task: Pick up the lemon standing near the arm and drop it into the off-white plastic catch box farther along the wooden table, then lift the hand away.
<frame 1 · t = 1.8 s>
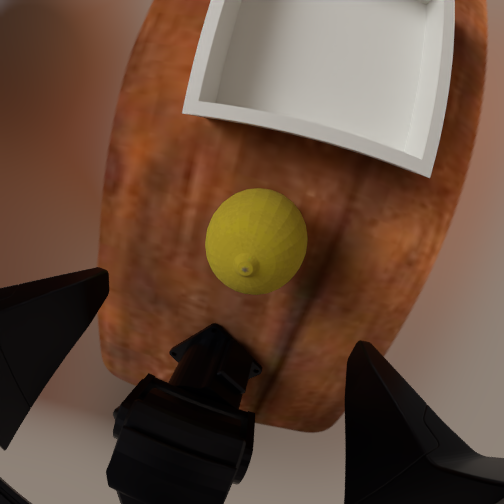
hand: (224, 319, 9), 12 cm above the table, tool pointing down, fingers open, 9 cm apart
lemon: (266, 219, 20), on the table
catch box: (329, 43, 15), on the table
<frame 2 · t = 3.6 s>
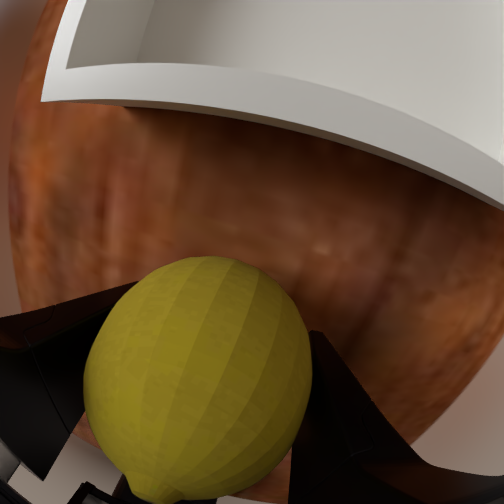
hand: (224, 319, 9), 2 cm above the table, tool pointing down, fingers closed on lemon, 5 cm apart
lemon: (236, 291, 11), on the table, touching gripper
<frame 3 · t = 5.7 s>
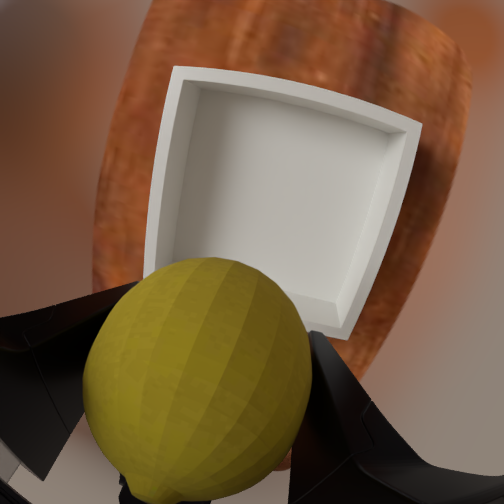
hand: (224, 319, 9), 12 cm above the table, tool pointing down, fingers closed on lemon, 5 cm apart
lemon: (236, 292, 11), point 10 cm above the table, touching gripper
catch box: (274, 196, 19), on the table
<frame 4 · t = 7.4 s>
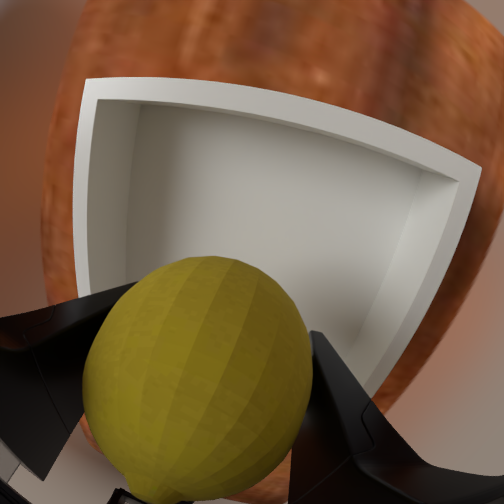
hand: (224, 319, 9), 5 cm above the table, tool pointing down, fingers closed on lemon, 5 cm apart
lemon: (236, 291, 11), point 3 cm above the table, touching gripper
catch box: (250, 257, 14), on the table
when the fingers open (5 cm above the table, at t = 7.8 s): lemon drops 2 cm, resting on catch box.
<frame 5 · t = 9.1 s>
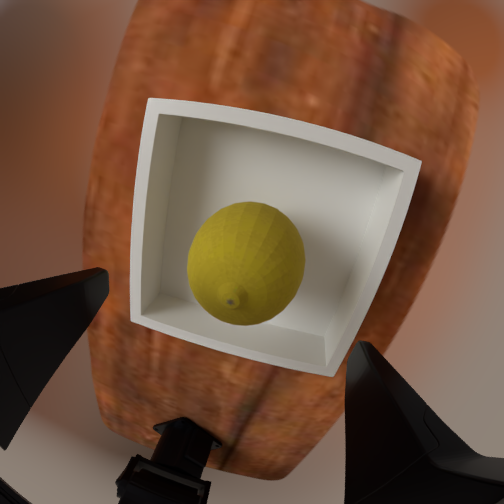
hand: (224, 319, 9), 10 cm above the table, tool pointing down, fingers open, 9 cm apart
lemon: (259, 234, 18), point 1 cm above the table, touching catch box
catch box: (261, 231, 19), on the table
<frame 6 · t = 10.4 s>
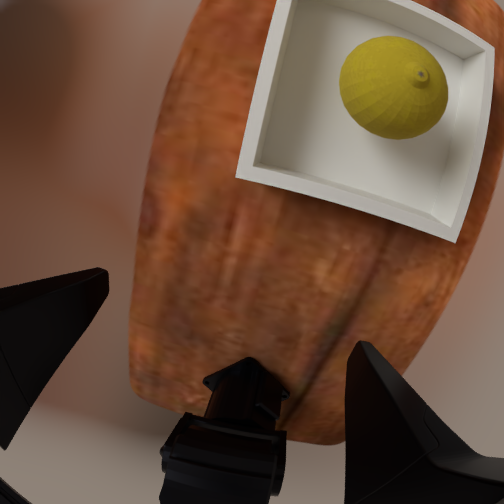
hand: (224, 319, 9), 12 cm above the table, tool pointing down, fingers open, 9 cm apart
lemon: (372, 99, 15), point 1 cm above the table, touching catch box
catch box: (371, 100, 16), on the table
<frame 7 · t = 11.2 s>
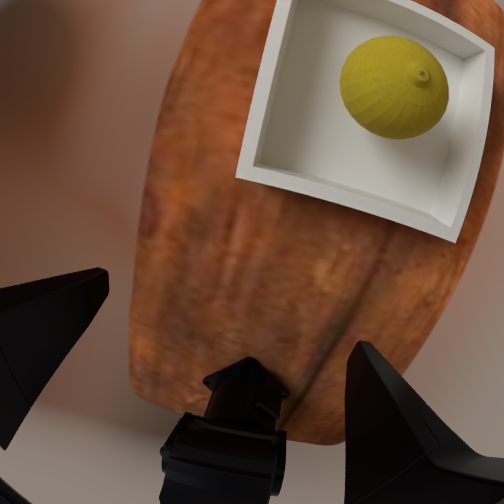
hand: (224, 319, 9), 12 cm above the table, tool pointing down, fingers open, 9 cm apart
lemon: (372, 99, 15), point 1 cm above the table, touching catch box
catch box: (371, 100, 16), on the table
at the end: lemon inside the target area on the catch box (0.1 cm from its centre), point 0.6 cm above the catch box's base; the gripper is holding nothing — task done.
